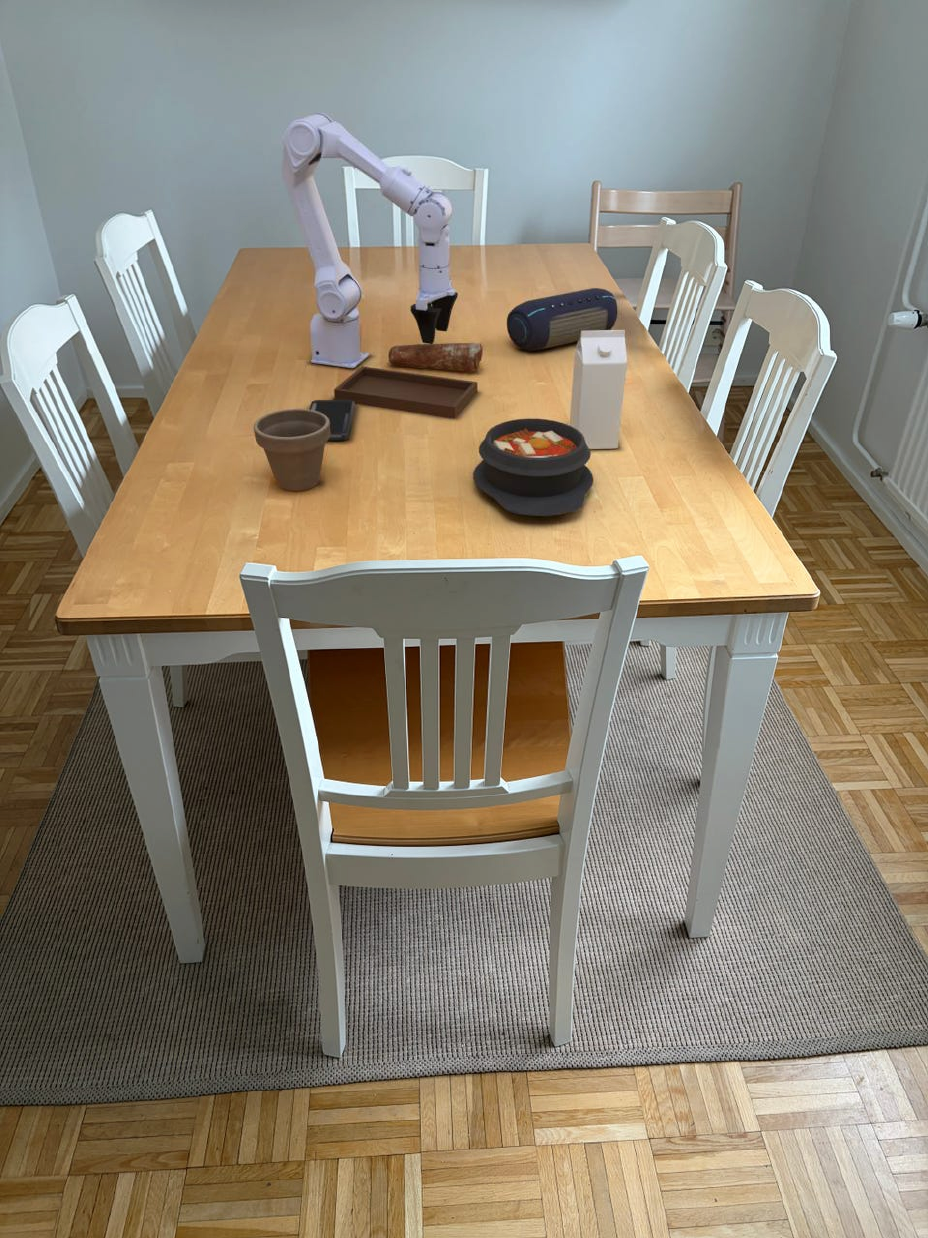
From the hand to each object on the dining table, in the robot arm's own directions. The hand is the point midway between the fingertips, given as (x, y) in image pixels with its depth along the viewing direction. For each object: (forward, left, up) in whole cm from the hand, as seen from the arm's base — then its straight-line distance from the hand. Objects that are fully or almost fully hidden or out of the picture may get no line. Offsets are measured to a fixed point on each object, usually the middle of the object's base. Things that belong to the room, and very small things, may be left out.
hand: (435, 336), depth 185 cm
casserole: (+32, -42, -7) cm, 53 cm away
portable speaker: (+20, +24, -7) cm, 32 cm away
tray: (0, -15, -7) cm, 16 cm away
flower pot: (-3, -53, -7) cm, 54 cm away
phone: (-8, -31, -7) cm, 33 cm away
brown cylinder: (0, 0, -7) cm, 7 cm away
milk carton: (+37, -22, -7) cm, 43 cm away
